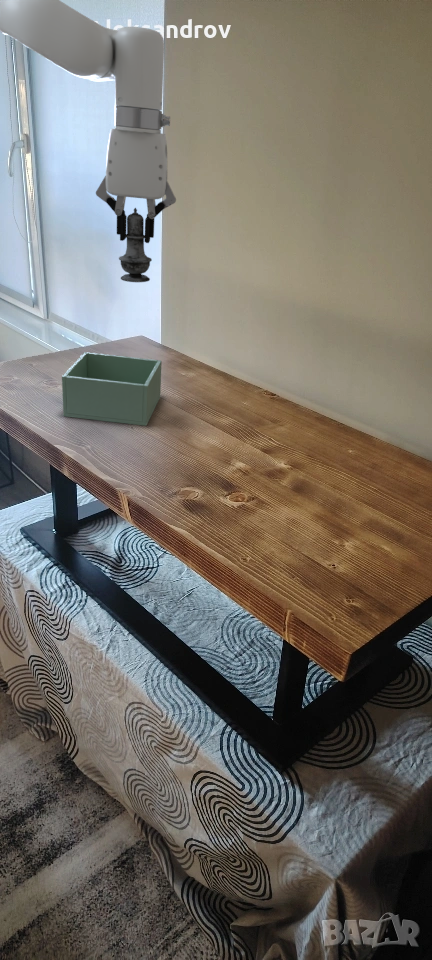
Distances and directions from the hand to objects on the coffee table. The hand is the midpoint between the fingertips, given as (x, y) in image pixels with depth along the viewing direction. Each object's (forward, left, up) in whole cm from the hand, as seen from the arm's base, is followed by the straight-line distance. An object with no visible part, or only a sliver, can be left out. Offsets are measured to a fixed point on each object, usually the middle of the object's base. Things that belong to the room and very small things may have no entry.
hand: (135, 239), depth 110 cm
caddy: (+7, -20, -23) cm, 31 cm away
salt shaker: (0, 0, -7) cm, 7 cm away
